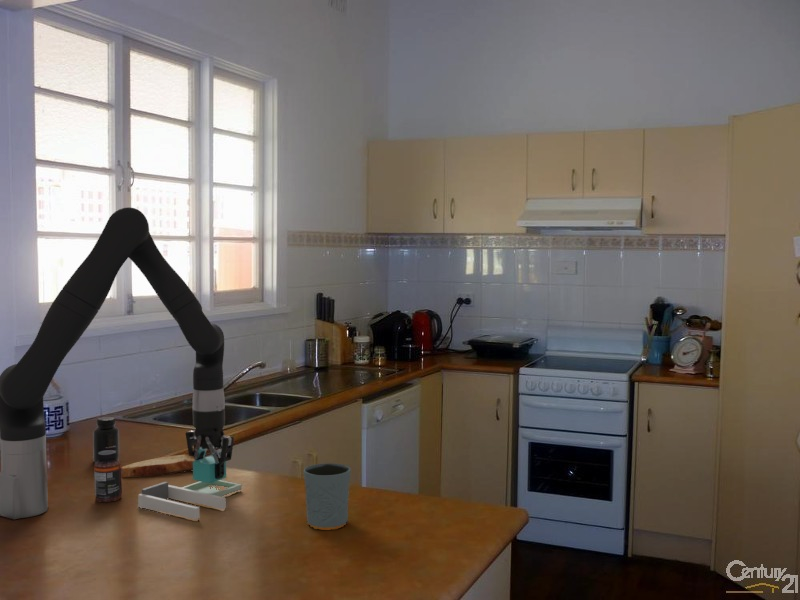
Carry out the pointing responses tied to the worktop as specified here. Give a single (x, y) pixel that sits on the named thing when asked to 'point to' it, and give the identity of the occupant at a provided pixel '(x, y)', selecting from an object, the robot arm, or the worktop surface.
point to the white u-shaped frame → (159, 493)
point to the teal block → (206, 470)
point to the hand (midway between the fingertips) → (210, 475)
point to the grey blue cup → (327, 494)
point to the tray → (206, 489)
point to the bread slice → (159, 466)
